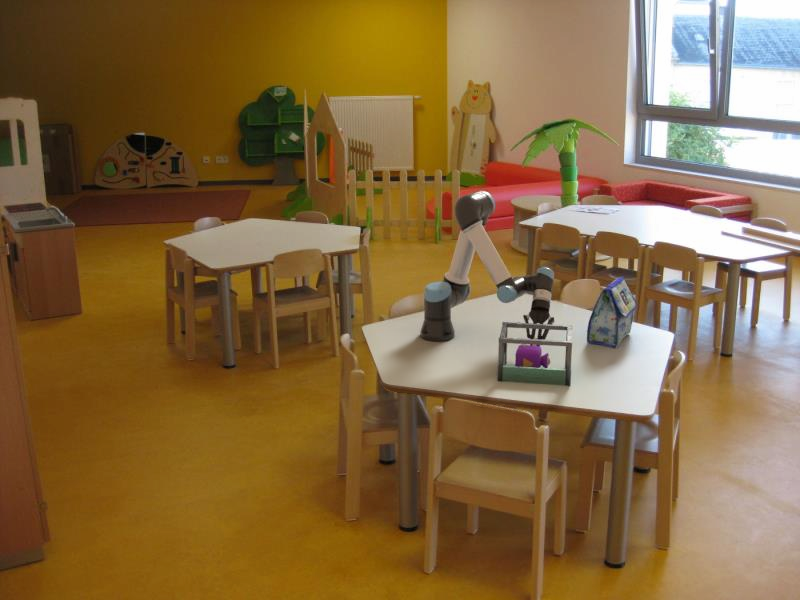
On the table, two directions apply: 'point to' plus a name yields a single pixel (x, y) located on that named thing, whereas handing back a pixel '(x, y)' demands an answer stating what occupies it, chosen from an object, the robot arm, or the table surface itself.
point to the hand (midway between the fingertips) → (533, 353)
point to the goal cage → (530, 372)
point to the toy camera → (531, 357)
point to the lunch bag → (612, 315)
